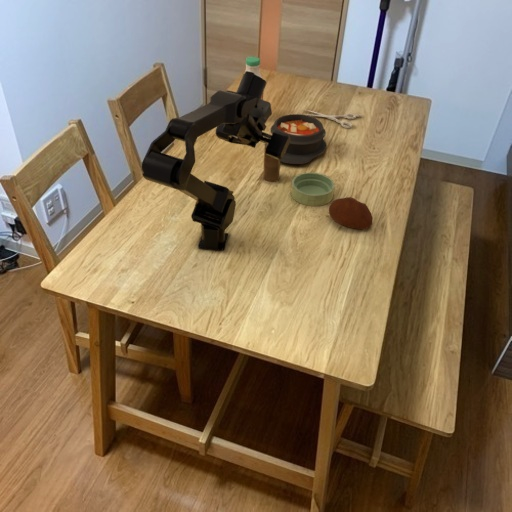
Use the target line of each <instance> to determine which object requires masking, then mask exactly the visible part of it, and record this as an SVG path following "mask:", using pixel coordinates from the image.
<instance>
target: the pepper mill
mask: <svg viewBox="0 0 512 512" xmlns="http://www.w3.org/2000/svg"><path fill="white" fill-rule="evenodd" d="M270 139H271V138H270ZM267 145H268V144H266V143H264V153H263V154H264V155H263V171H262V172H263V174H262V175H263V176H262V178H263V180H264V181H265V182H268V183H275V182H278V181H279V180H280V174H281V161H280V160H277V159H274V158H271V157H269V156H267V155H266V147H267Z"/></svg>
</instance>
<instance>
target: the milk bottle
mask: <svg viewBox="0 0 512 512" xmlns="http://www.w3.org/2000/svg"><path fill="white" fill-rule="evenodd" d="M260 64H261V59H260V58H259V57H258V56H248V57H246V59H245V71H244V73H245V72H246V71H249V72H253V73H254V74H255V75H257V76H259V77H261V78H262V79H263V76H262V74H261V71H260V66H261V65H260ZM264 91H265V90H264ZM264 91H263V94H262V97H261V100H264Z"/></svg>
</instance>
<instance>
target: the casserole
mask: <svg viewBox="0 0 512 512" xmlns="http://www.w3.org/2000/svg"><path fill="white" fill-rule="evenodd" d="M274 131H279V132H282V133H285V134H288V135H289V137H290V140H291V141H290V143H289V145H288V147H287V150H286V152H285V154H284V156H283V158H282V159H281V160H280V163H284V164H291V165H305V164H308V163H309V162H311V161H312V160H313V159H314V158H316V157H318V156H320V155H323V153H324V152H325V151H326V150H327V142H326V140H325V137H326V134H327V133H326V129H325V127H324V124H323V123H322V122H321V121H320V120H319V119H318V118H316V117H314V116H312V115H305V114H301V113H300V114H299V113H297V114H296V113H292V114H286V115H282V116H279V117H277V119H275V120H274V123H273V124H272V125H271V127H270V133H271V134H270V135H272V134H273V132H274Z"/></svg>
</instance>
